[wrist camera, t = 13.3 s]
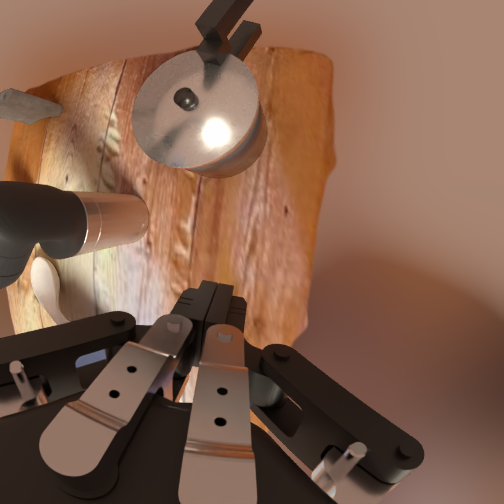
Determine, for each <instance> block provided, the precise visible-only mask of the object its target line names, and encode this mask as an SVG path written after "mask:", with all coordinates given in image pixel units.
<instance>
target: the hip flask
mask: <svg viewBox="0 0 504 504" xmlns="http://www.w3.org/2000/svg"><path fill="white" fill-rule="evenodd" d="M62 110H63V106H62V105H60V104H57V103H54V102H51V101H49V100H46V99H43V98H40V97H37V96H34V95H31V94H28V93H25V92H22V91H18V90H15V89H12V88H10V89H7V90H4V91H2V92H1V93H0V118H2V119H7V120H12V121H16V122H21V123H25V124H30V125H32V124H33V123H35V122H37V121H39V120H41V119H44V118H47V117H58V116H59V115H60V114H61V113H62Z"/></svg>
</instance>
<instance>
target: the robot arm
mask: <svg viewBox="0 0 504 504" xmlns="http://www.w3.org/2000/svg"><path fill="white" fill-rule="evenodd" d="M148 224H149V213H148V209H147V207H146V204H145V203H144V201H143V200H142V199H141V198H139V197H138V196H136V195H132V194H119V193H103V192H83V191H81V192H80V191H63V190H60V189H58V188H55V187H52V186H49V185H41V184H32V183H23V182H15V181H0V289H2V288H4V287H7V286H9V285H11V284H12V283H14V282H15V281H16V280H17V279H18V278H19V277H20V275H21V274H22V272H23V271H24V269H25V266H26V264H27V262H28V259H29V257H30V255H31V253H32V250H33V248H34V246H35V244H36V243H39V244H40V246H41V248H42V249H43V251H44V252H45V253H46V254H47V255H48V256H49V257H51V258H54V259H65V258H69V257H73V256H77V255H81V254H85V253H89V252H93V251H98V250H102V249H106V248H111V247H115V246H119V245H124V244H129V243H133V242H136V241H138V240H139V239H141V238H142V237H143V235H144V234H145V232H146V230H147V228H148ZM233 289H234V286H232V285H227V284H221V283H219V284H218V283H216V282H211V281H205V280H203V281H202V283H201V285H200V286H199V288H198V289H194V288H189V289H187V290H185V291H183V293H182V294H181V296H180V298H179V299H178V301H177V303H176V304H175V306H174V308H173V309H172V311H171V313H170V314H168V315H163V316H161V317H159V318H158V319H157V321H156V322H155V323H154V324H153V325H136V320H135V318H134V317H133V316H132V315H131V314H129V313H127V312H122V311H113V312H108V313H104V314H101V315H97V316H93V317H88V318H84V319H80V320H76V321H72V322H68V323H64V324H60V325H55V326H51V327H47V328H43V329H38V330H34V331H30V332H25V333H21V334H17V335H12V336H8V337H3V338H0V504H377V503H378V502H379V501H380V500H381V499H382V498H383V497H384V495H385V494H386V493H388V492H389V491H390V490H392V489H393V488H394V487H395V486H396V485H398V484H399V483H400V482H401V481H403V480H404V479H405V478H406V477H407V476H408V475H410V474H411V473H412V472H413V471H414V470H415V469H416V468H417V467H418V466H419V465H420V464H421V463H422V462H423V459H424V450H423V447H422V445H421V444H420V443H419V442H418V441H417V440H416V439H415V438H413V437H412V436H410V435H409V434H407V433H406V432H404V431H403V430H401V429H400V428H398V427H397V426H396V425H394V424H393V423H391V422H390V421H389V420H387V419H386V418H384V417H383V416H381V415H380V414H379V413H377V412H376V411H374V410H373V409H371V408H370V407H369V406H367V405H366V404H365V403H363V402H362V401H361V400H359V399H358V398H357V397H355V396H354V395H353V394H351V393H350V392H349V391H347V390H346V389H345V388H343V387H342V386H341V385H339V384H338V383H337V382H335V381H334V380H333V379H331V378H330V377H329V376H328V375H326V374H325V373H324V372H322V371H321V370H320V369H318V368H317V367H316V366H315V365H313V364H312V363H311V362H309V361H308V360H307V359H306V358H305V357H303V356H302V355H301V354H300V353H298V352H297V351H296V350H294V349H293V348H291V347H289V346H286V345H282V344H271V345H268V346H266V347H265V348H264V349H263V350H261V349H259V348H256V347H254V346H252V345H251V344H249V343H248V342H247V341H246V340H245V338H244V335H243V333H244V324H245V315H246V307H247V303H246V301H245V300H244V298H243V297H237V296H233ZM103 349H105V356H106V359H103V360H100V361H97V362H94V363H91V364H87V365H84V366H81V367H77V368H76V365H75V363H76V361H77V359H78V358H79V357H81V356H84V355H87V354H90V353H94V352H97V351H100V350H103ZM192 366H195V367H199V370H198V375H197V381H196V387H195V392H194V398H193V403H180V402H179V400H180V398H181V395H182V393H183V391H184V389H185V387H186V384H187V382H188V380H189V373H190V371H191V368H192ZM287 396H289V397H290V398H291V399H292V400H293V401H295V402H296V403H297V404H298V405H299V406H300V407H301V409H302V410H301V409H300V408H299V407H298V406H297V405H295V404H294V403H293V402H292V401H291V400H290V399H289V398H288V397H287ZM250 409H251V410H252V412H253V413H254V414H255V415H256V416H257V417H258V418H259V419H260V420H261V421H262V422H263V423H264V424H265V425H266V427H267V428H268V429H269V430H270V431H271V432H272V433H274V435H275V436H276V437H277V438H278V439H279V440H280V441H281V442H282V443H283V444H284V445H285V446H286V447H287V448H288V449H289V450H290V451H291V452H292V453H293V454H295V456H297V458H299V459H300V460H301V461H302V462H303V463H304V464H305V465H306V466H307V467H308V468H309V469H310V470H312V471H313V472H312V479H311V478H310V477H308V475H307V474H306V473H305V472H304V471H303V470H301V468H299V466H298V465H297V464H296V463H295V462H294V461H293V460H292V459H291V458H290V457H289V456H288V455H287V454H286V453H285V452H284V451H283V450H282V449H281V448H280V446H279V445H278V444H277V443H276V442H275V441H274V440H273V439H272V438H271V437H270V436H269V435H268V434H267V433H266V432H265V431H264V430H263V429H261V428H260V427H258V426H257V425H255V424H253V423H252V422H250Z"/></svg>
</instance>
